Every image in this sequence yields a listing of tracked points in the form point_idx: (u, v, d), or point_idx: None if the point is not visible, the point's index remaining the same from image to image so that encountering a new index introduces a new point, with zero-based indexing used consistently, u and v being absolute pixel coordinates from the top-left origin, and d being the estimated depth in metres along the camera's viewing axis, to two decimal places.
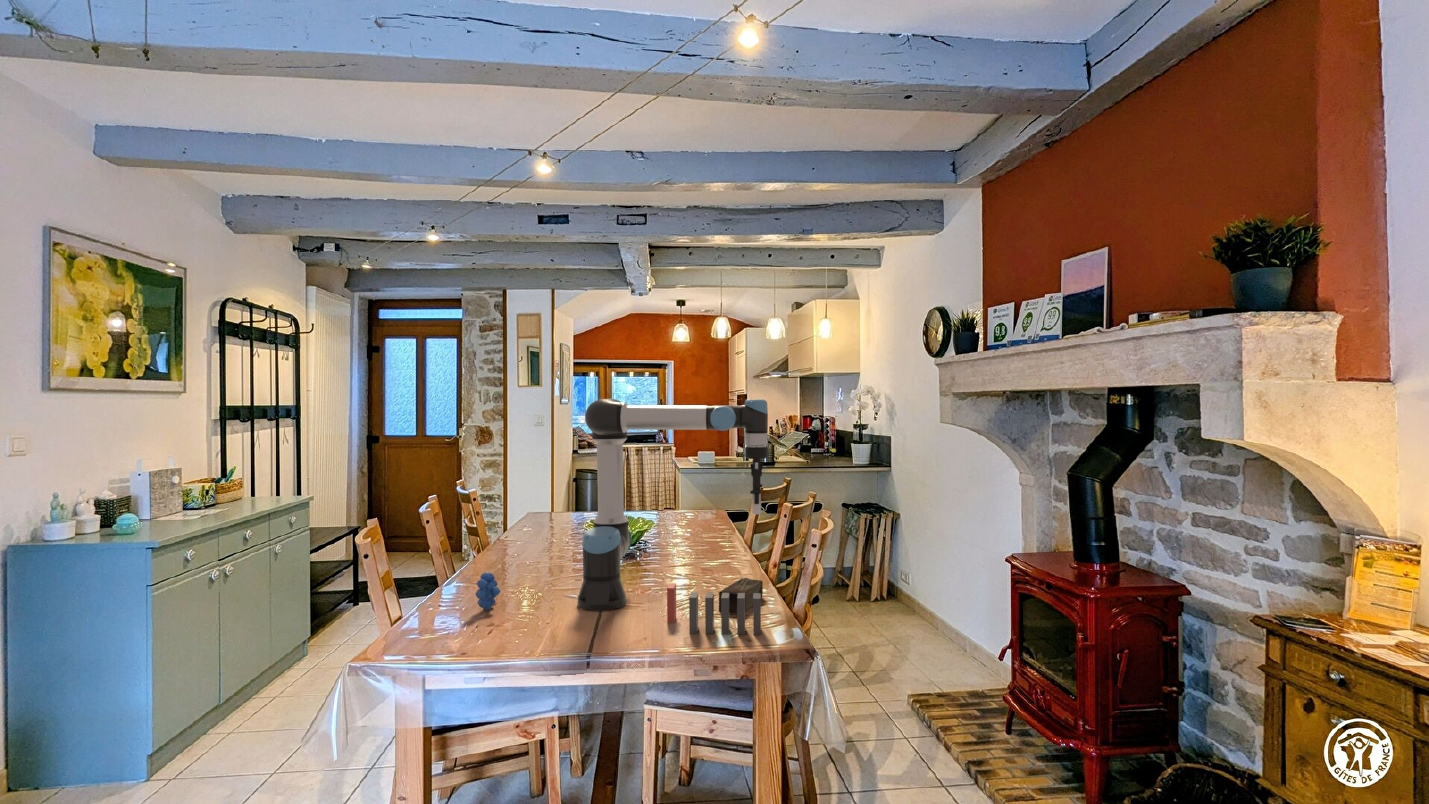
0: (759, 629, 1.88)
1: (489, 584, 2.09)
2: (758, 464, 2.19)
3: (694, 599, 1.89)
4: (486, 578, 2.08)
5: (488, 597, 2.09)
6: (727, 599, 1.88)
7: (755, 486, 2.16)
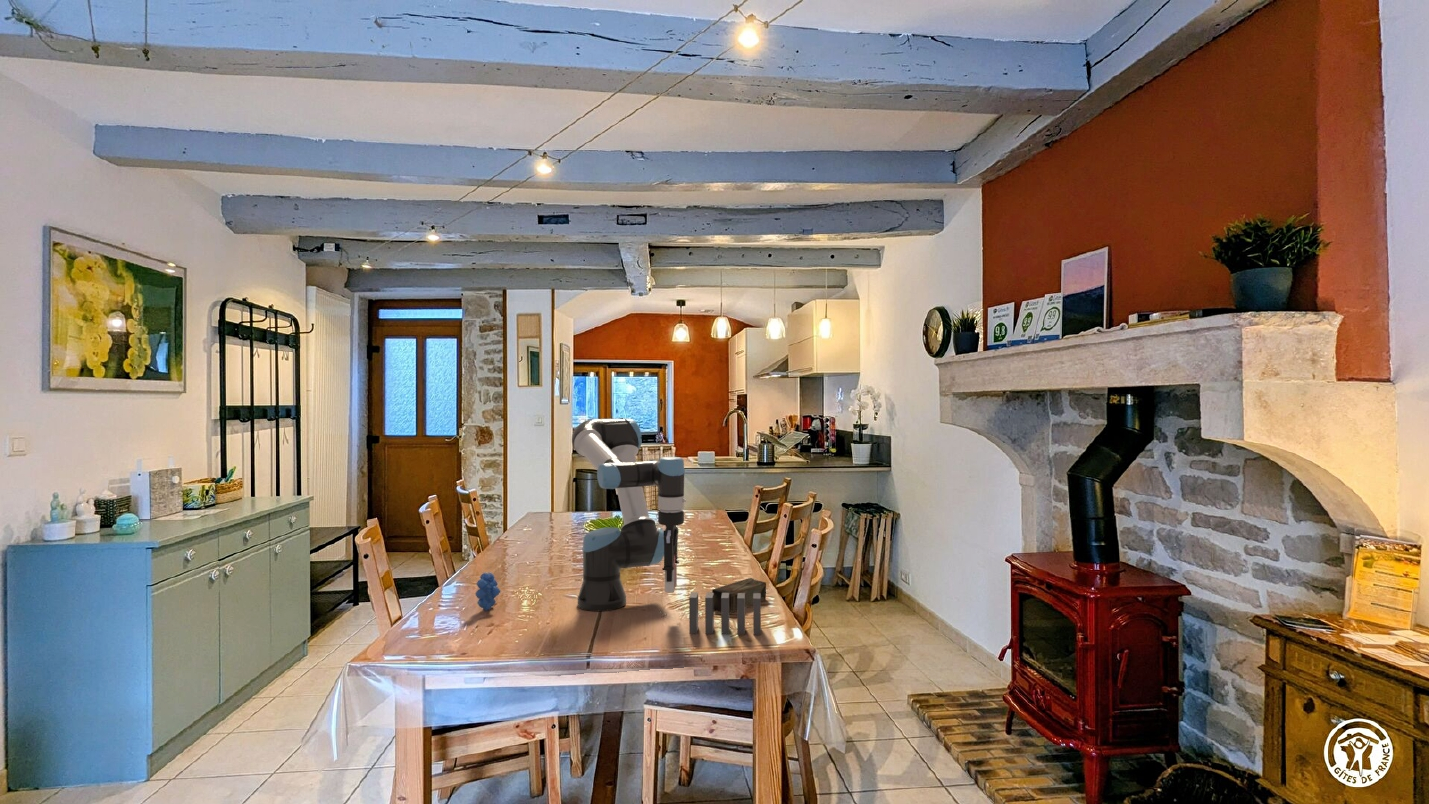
0: (759, 629, 1.88)
1: (489, 584, 2.09)
2: (670, 539, 1.94)
3: (694, 599, 1.89)
4: (486, 578, 2.08)
5: (488, 597, 2.09)
6: (727, 599, 1.88)
7: (666, 564, 1.95)
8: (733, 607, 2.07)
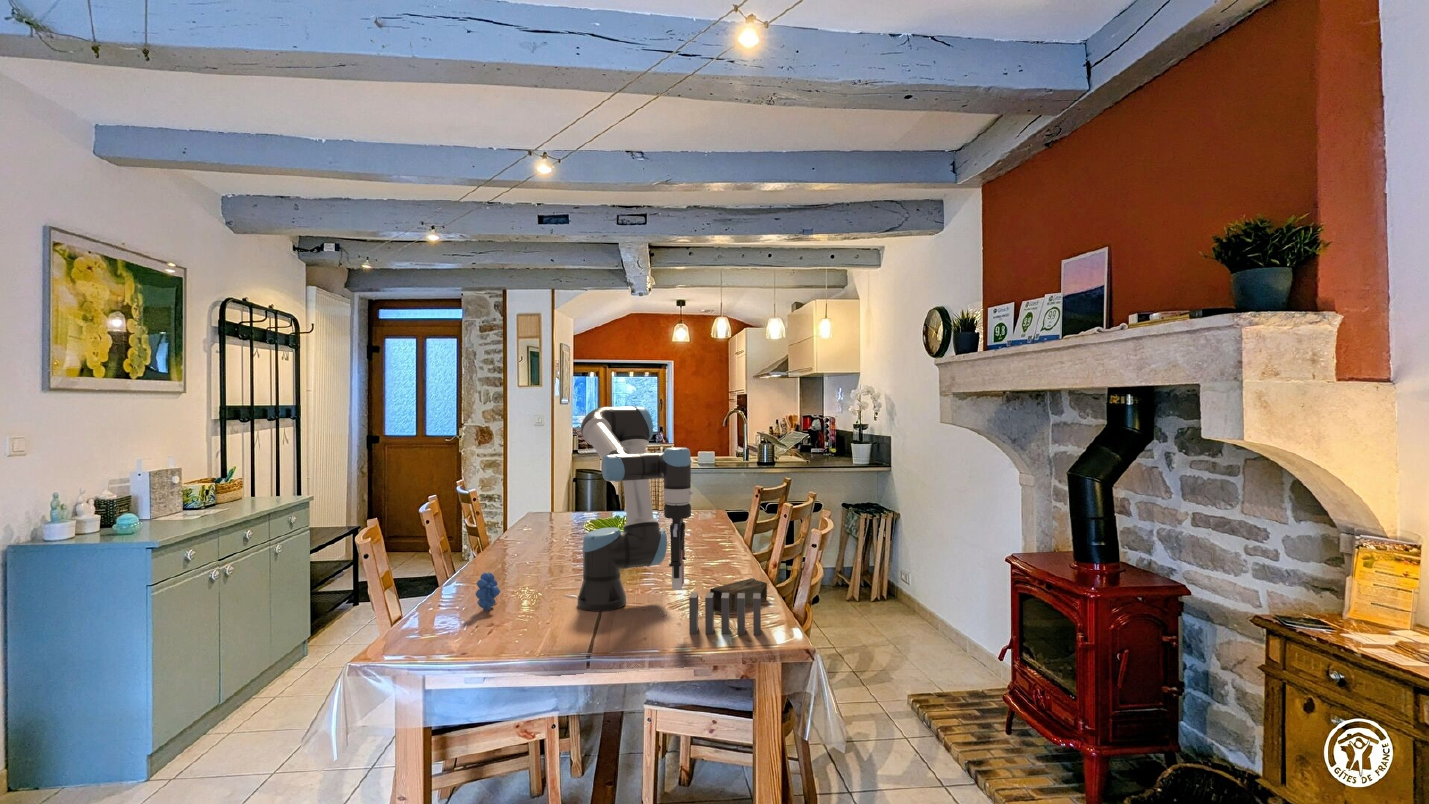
0: (759, 629, 1.88)
1: (489, 584, 2.09)
2: (677, 533, 1.85)
3: (694, 599, 1.89)
4: (486, 578, 2.08)
5: (488, 597, 2.09)
6: (727, 599, 1.88)
7: (673, 559, 1.85)
8: (730, 607, 2.08)
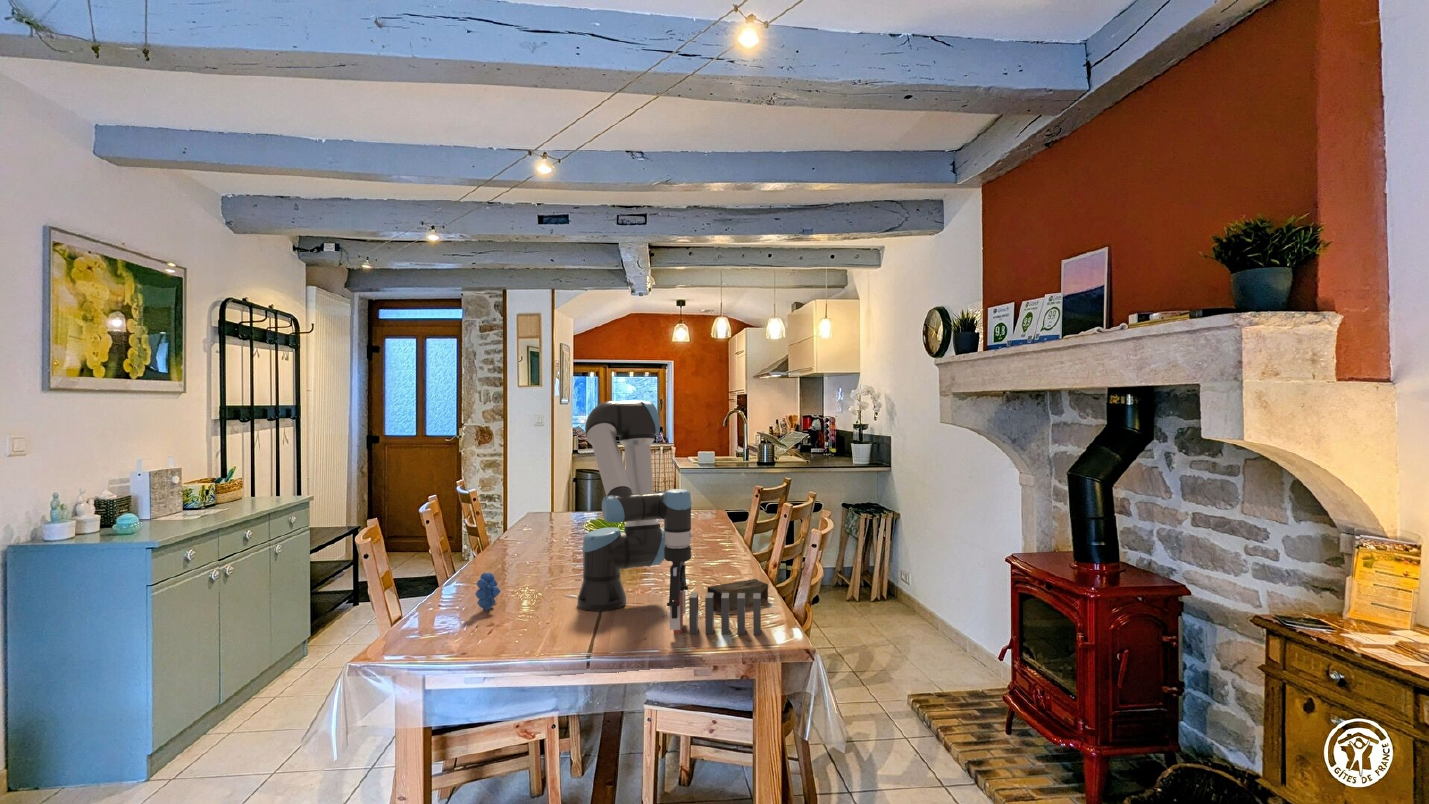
0: (759, 629, 1.88)
1: (489, 584, 2.09)
2: (677, 570, 1.85)
3: (694, 599, 1.89)
4: (486, 578, 2.08)
5: (488, 597, 2.09)
6: (727, 599, 1.88)
7: (672, 598, 1.82)
8: None
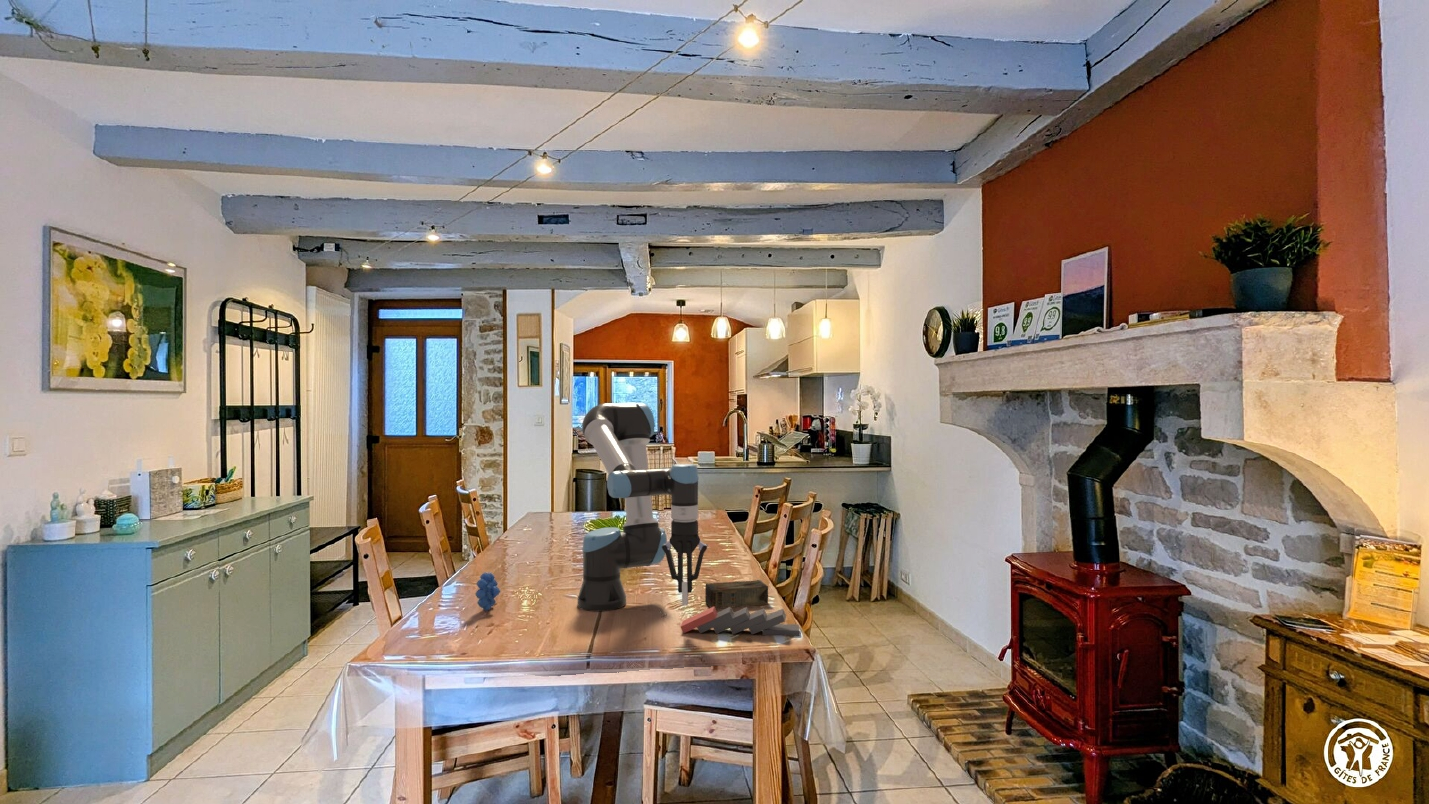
0: None
1: (489, 584, 2.09)
2: None
3: (730, 616, 1.88)
4: (486, 578, 2.08)
5: (488, 597, 2.09)
6: (764, 620, 1.87)
7: None
8: (716, 604, 2.11)
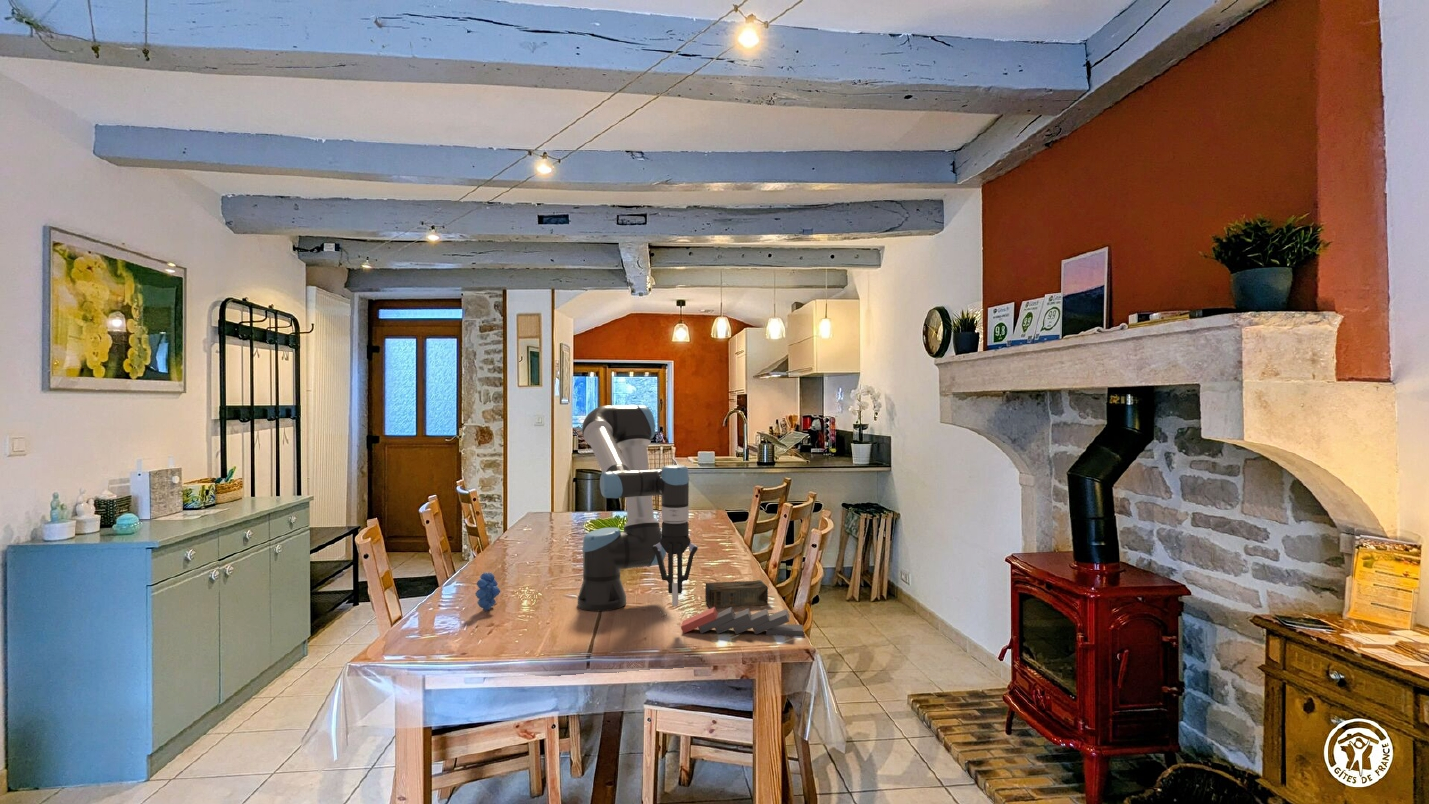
0: None
1: (489, 584, 2.09)
2: None
3: (731, 617, 1.88)
4: (486, 578, 2.08)
5: (488, 597, 2.09)
6: (767, 620, 1.87)
7: None
8: (714, 603, 2.11)
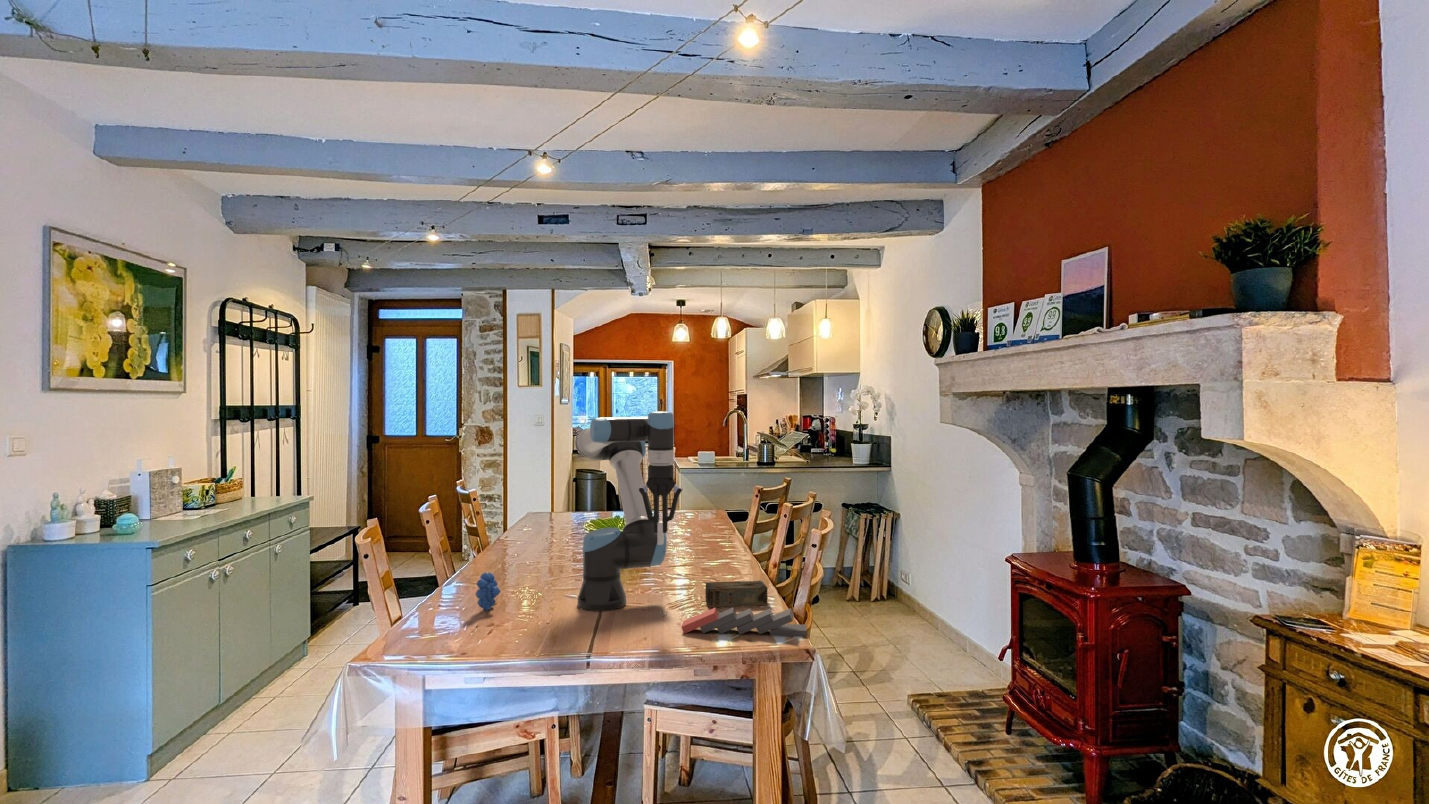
0: None
1: (489, 584, 2.09)
2: None
3: (733, 617, 1.88)
4: (486, 578, 2.08)
5: (488, 597, 2.09)
6: (771, 620, 1.87)
7: None
8: (713, 603, 2.12)
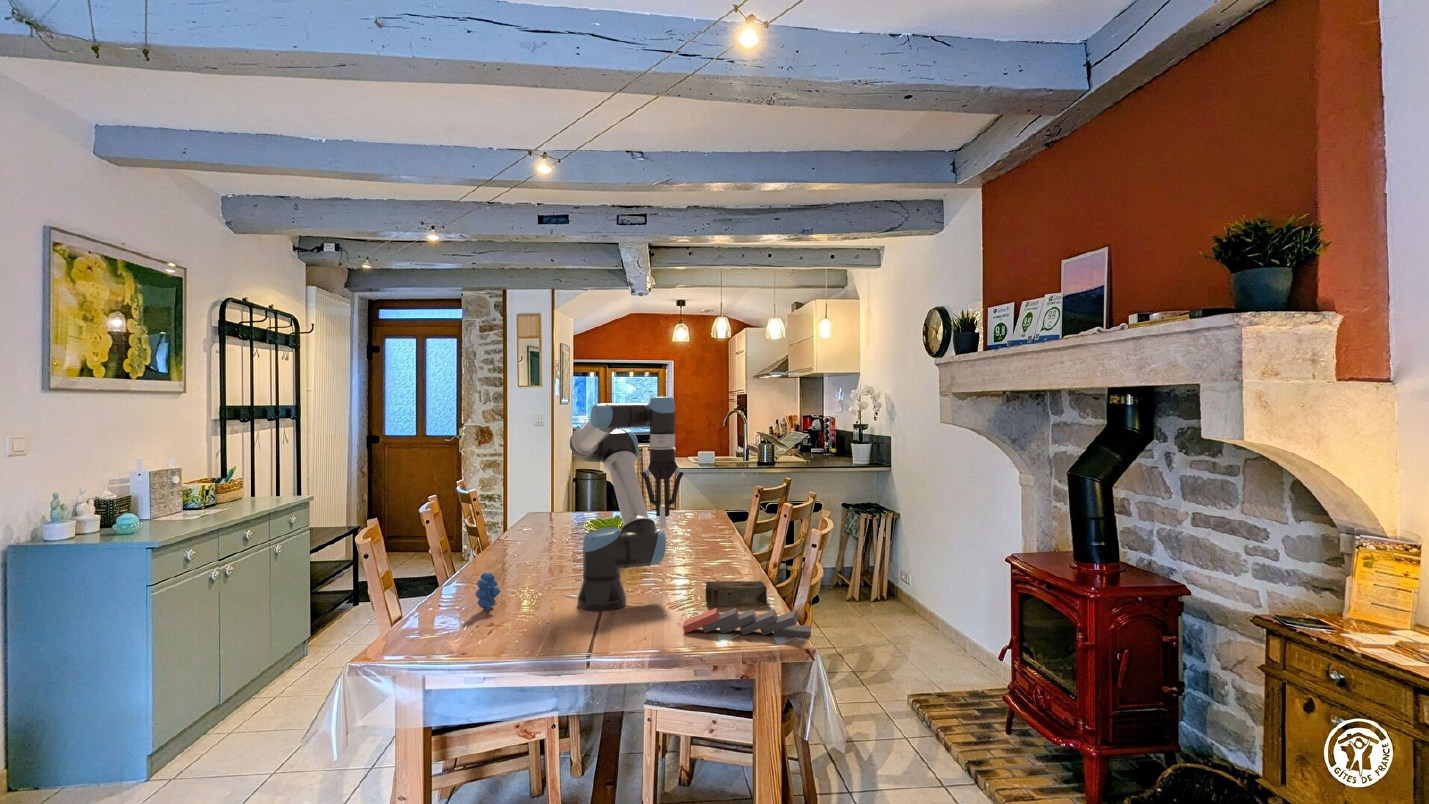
0: (779, 636, 1.86)
1: (489, 584, 2.09)
2: None
3: (735, 618, 1.88)
4: (486, 578, 2.08)
5: (488, 597, 2.09)
6: (774, 621, 1.86)
7: None
8: (712, 602, 2.13)
